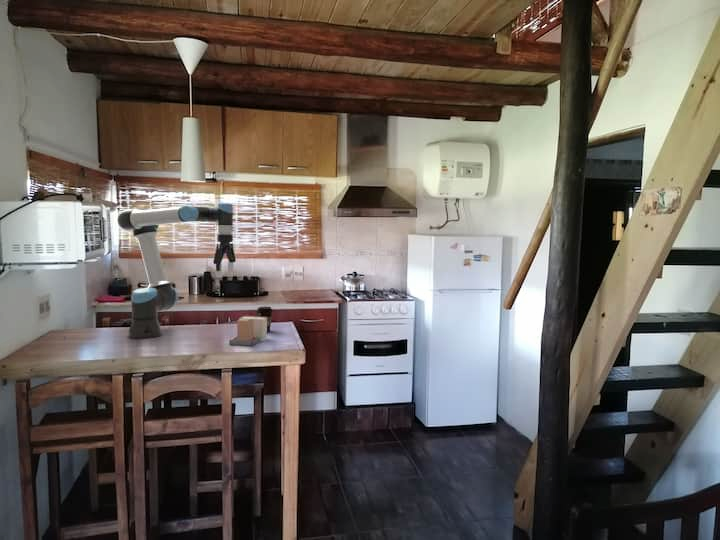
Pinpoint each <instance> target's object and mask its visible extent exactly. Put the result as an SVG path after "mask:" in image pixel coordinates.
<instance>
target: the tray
mask: <svg viewBox="0 0 720 540" xmlns="http://www.w3.org/2000/svg"><path fill="white" fill-rule="evenodd" d="M259 342H260V341H259V337H253V341H238V340H237V336H235V337H232V338H231V339H229V345H230V346H240V347H241V346H242V347H253V346H255V345H256V344H258V343H259Z"/></svg>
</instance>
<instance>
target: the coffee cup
mask: <svg viewBox="0 0 720 540" xmlns="http://www.w3.org/2000/svg"><path fill="white" fill-rule="evenodd" d="M272 312H274V311H273V309H272V307H271V306H259V307H257V309H256V317H267V333H269V332H271V325H272V319H273V318H272V317H273V314H272Z"/></svg>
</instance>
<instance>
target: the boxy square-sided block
mask: <svg viewBox="0 0 720 540" xmlns="http://www.w3.org/2000/svg"><path fill="white" fill-rule="evenodd" d="M239 319H253V337H259V342H260V343H261V342H265V341H266V340H267V339H268V332H267V317H257V315H256V316H253V315H243V316H240V317H239ZM239 319H238V320H239Z"/></svg>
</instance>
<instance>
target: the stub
mask: <svg viewBox="0 0 720 540" xmlns="http://www.w3.org/2000/svg"><path fill="white" fill-rule="evenodd" d="M236 337H237V340H238V341H253V319H238V320H236Z"/></svg>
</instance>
